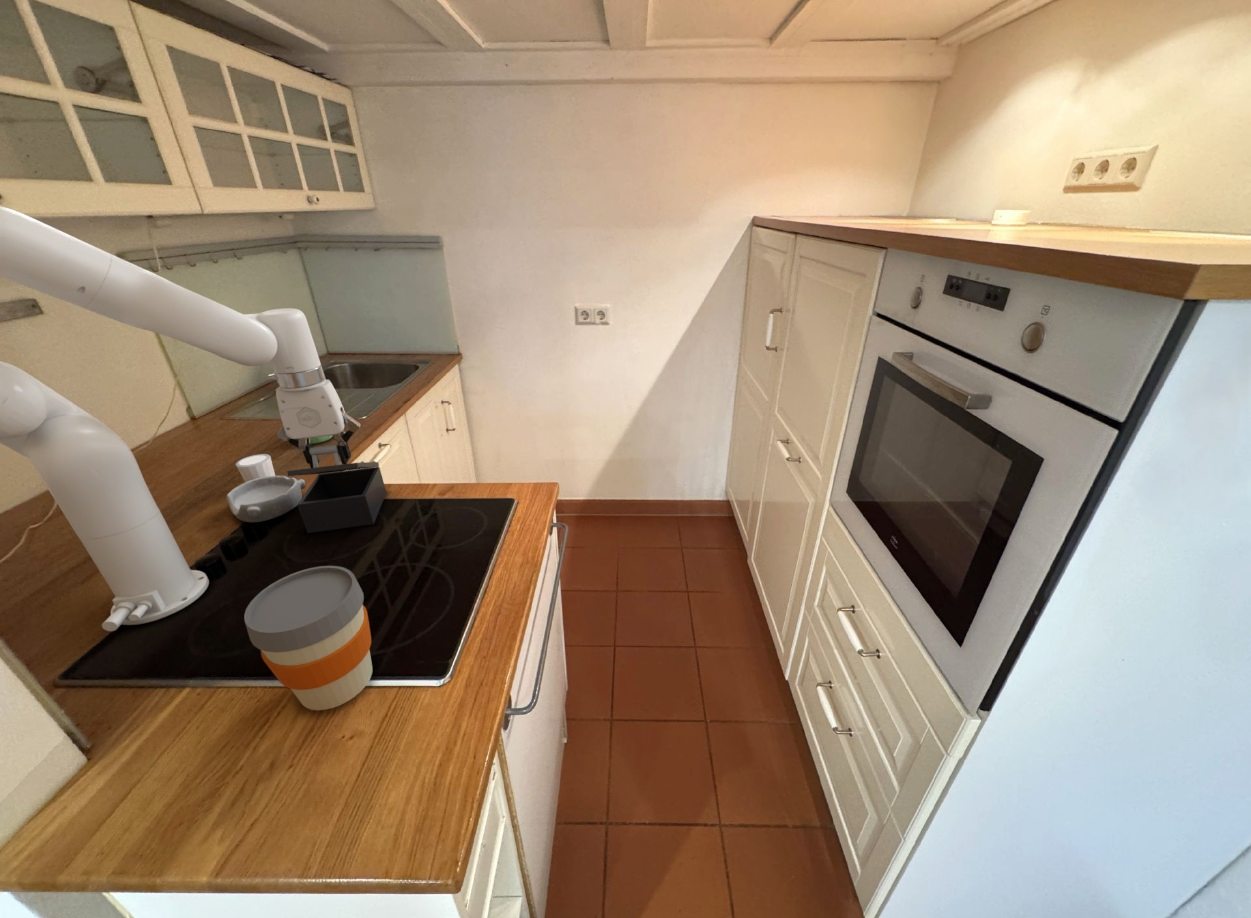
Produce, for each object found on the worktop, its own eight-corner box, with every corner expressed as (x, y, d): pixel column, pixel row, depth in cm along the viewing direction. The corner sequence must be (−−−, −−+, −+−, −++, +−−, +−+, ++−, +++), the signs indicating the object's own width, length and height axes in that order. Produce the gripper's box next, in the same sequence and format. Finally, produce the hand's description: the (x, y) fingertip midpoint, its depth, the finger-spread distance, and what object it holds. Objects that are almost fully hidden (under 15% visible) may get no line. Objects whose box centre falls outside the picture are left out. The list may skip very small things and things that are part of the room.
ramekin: (329, 443, 143) (325, 429, 141) (295, 446, 141) (290, 432, 139) (339, 431, 151) (334, 418, 149) (306, 434, 149) (302, 421, 147)
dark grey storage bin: (373, 524, 104) (365, 495, 101) (307, 533, 101) (296, 504, 98) (386, 492, 116) (379, 466, 113) (327, 500, 113) (318, 473, 110)
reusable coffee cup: (401, 645, 74) (376, 564, 67) (358, 723, 62) (322, 634, 56) (318, 645, 74) (285, 564, 68) (261, 723, 63) (214, 634, 56)
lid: (357, 467, 98) (354, 442, 98) (287, 476, 96) (284, 449, 96) (379, 466, 112) (376, 444, 112) (318, 473, 110) (315, 451, 110)
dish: (264, 529, 103) (256, 508, 101) (216, 520, 107) (206, 500, 105) (321, 495, 115) (315, 476, 113) (276, 487, 119) (269, 469, 117)
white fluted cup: (240, 489, 119) (229, 463, 116) (269, 476, 125) (259, 451, 122) (256, 495, 116) (245, 468, 113) (286, 482, 122) (276, 456, 119)
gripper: (241, 388, 89) (277, 478, 97) (345, 378, 92) (372, 465, 100) (259, 376, 95) (291, 461, 103) (355, 367, 98) (379, 450, 107)
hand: (330, 462), depth 102 cm, fingers closed on lid, 5 cm apart
